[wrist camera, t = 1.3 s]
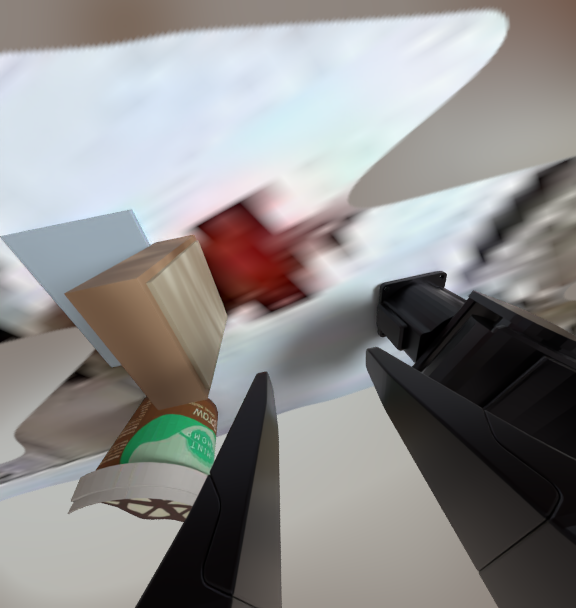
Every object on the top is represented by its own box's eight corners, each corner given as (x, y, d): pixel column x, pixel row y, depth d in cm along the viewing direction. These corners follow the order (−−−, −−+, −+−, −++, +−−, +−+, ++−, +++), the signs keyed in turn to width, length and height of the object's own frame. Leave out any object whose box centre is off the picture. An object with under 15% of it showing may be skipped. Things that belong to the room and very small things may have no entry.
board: (132, 209, 15) (128, 210, 15) (200, 345, 22) (200, 348, 21) (5, 235, 15) (-1, 236, 15) (113, 364, 21) (111, 367, 21)
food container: (248, 414, 28) (243, 516, 19) (214, 434, 29) (196, 539, 21) (169, 364, 22) (113, 478, 14) (132, 392, 24) (59, 512, 15)
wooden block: (197, 234, 16) (142, 277, 9) (229, 317, 20) (211, 398, 13) (156, 242, 16) (63, 293, 9) (196, 324, 20) (158, 410, 13)
